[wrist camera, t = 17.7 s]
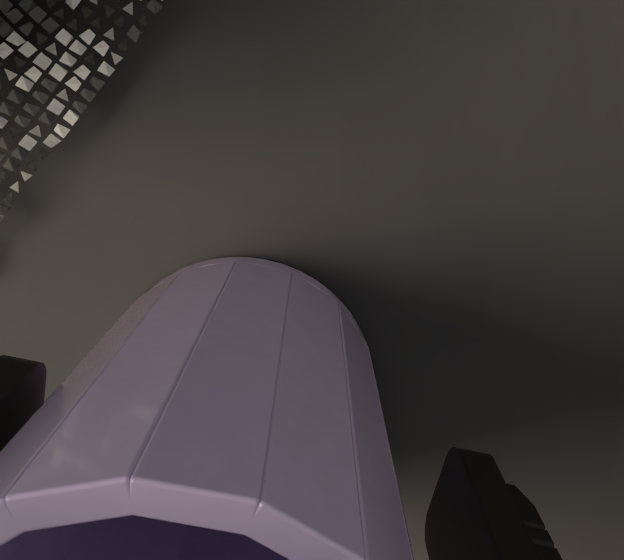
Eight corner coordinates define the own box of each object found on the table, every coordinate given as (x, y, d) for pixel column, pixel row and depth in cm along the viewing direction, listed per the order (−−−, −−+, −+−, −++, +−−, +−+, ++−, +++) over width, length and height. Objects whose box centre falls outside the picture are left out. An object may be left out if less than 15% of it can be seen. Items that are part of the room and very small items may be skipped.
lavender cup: (340, 508, 16) (366, 941, 8) (101, 465, 15) (-135, 870, 7) (400, 285, 14) (517, 547, 6) (129, 230, 14) (-149, 428, 5)
